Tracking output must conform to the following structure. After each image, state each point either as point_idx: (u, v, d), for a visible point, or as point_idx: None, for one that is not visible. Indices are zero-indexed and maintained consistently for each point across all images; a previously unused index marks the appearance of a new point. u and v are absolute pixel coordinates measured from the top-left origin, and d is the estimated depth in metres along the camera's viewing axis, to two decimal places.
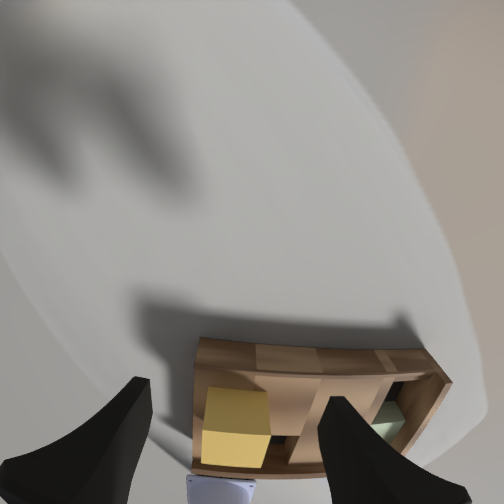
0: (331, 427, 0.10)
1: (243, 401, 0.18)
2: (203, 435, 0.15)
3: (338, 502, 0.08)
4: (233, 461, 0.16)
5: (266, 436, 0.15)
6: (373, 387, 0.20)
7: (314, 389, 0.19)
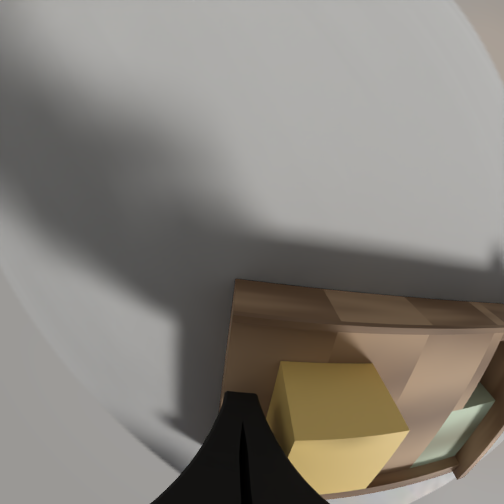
0: None
1: (345, 380, 0.10)
2: (293, 451, 0.08)
3: None
4: (328, 486, 0.08)
5: (401, 433, 0.08)
6: (480, 350, 0.12)
7: (416, 355, 0.12)
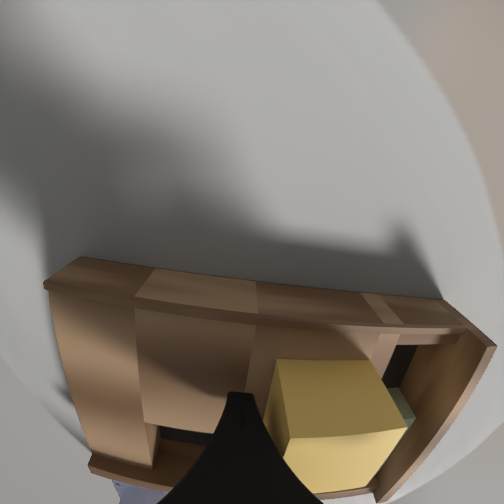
0: None
1: (342, 377, 0.10)
2: (288, 449, 0.08)
3: None
4: (327, 485, 0.08)
5: (399, 430, 0.08)
6: (360, 354, 0.11)
7: (246, 349, 0.11)
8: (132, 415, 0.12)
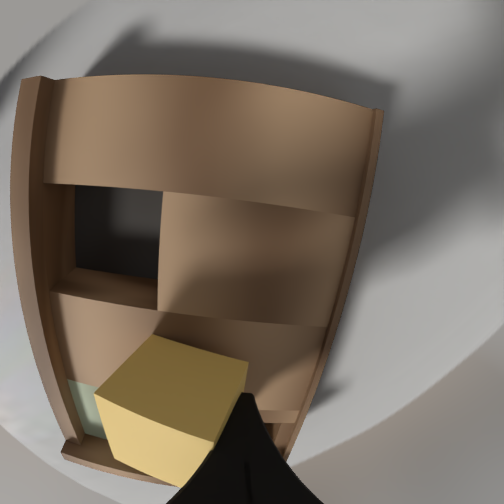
0: None
1: None
2: (194, 437, 0.07)
3: None
4: (120, 440, 0.08)
5: None
6: (277, 402, 0.13)
7: (298, 320, 0.12)
8: (174, 174, 0.10)
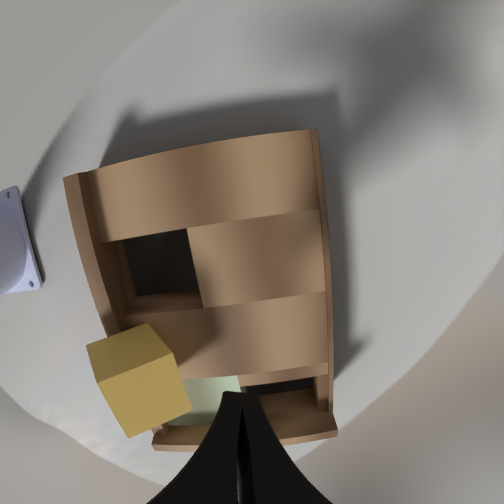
0: (239, 425, 0.10)
1: (165, 397, 0.14)
2: (95, 377, 0.12)
3: None
4: None
5: (126, 433, 0.13)
6: (308, 358, 0.18)
7: (302, 290, 0.16)
8: (190, 215, 0.15)
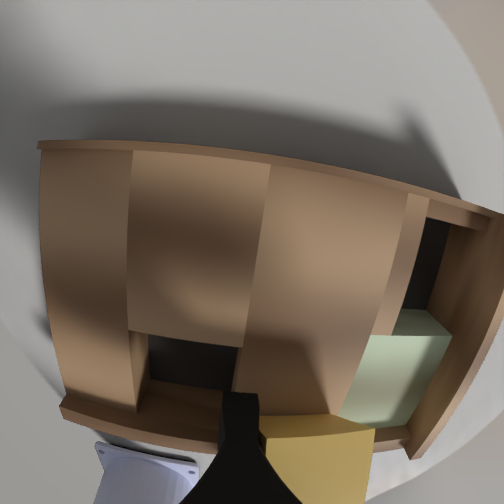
0: (220, 423, 0.10)
1: (332, 463, 0.08)
2: None
3: None
4: None
5: None
6: (389, 222, 0.10)
7: (257, 203, 0.10)
8: (114, 320, 0.11)
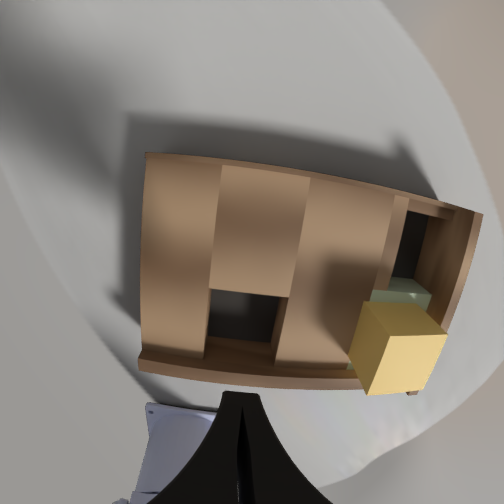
0: None
1: (404, 310, 0.16)
2: (387, 345, 0.14)
3: None
4: (402, 384, 0.14)
5: (443, 336, 0.14)
6: (382, 213, 0.16)
7: (302, 201, 0.15)
8: (198, 281, 0.17)
